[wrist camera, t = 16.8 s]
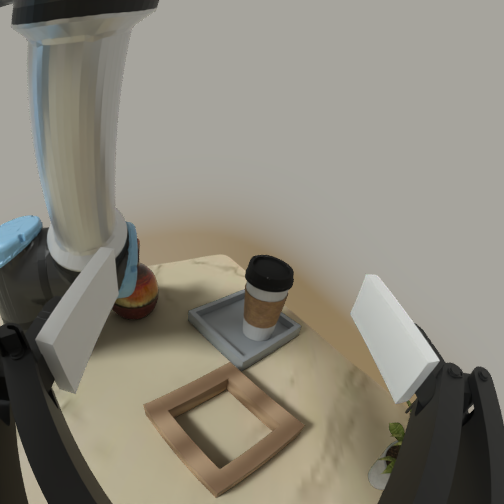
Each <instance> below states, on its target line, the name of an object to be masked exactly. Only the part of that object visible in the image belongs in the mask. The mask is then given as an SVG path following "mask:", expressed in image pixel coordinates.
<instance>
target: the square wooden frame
mask: <svg viewBox="0 0 504 504" xmlns="http://www.w3.org/2000/svg"><path fill="white" fill-rule="evenodd" d="M226 389H227V390H228V391H229V392H230V393H231V394H232V395H233V396H234V397H235V398H236V399H237V400H239V401H240V402H241V403H242V404H243V405H244V406H245V407H246V408H247V409H248V410H249V411H250V412H252V413H253V414H254V415H255V416H256V417H257V418H258V419H259V420H260V421H262V422H263V423H264V424H265V425H266V426H267V427H269V428H270V429H271V430H272V432H271V433H270V434H269V435H267V436H266V437H265V438H263V439H262V440H261V441H259V442H258V443H257V444H255V445H254V446H253V447H251V448H250V449H249V450H247V451H246V452H244V453H243V454H242V455H240V456H239V457H237V458H236V459H234V460H233V461H231V462H230V463H228V464H227V465H225V466H224V467H222V468H221V469H219V468H218V467H217V466H216V465H215V464H214V463H213V462H212V461H211V460H210V459H209V458H208V457H207V456H206V455H205V454H204V453H203V452H202V451H201V449H200V448H199V447H198V446H197V445H196V444H195V443H194V442H193V441H192V439H191V438H190V437H189V436H188V435H187V434H186V432H185V431H184V430H183V429H182V428H181V427H180V425H179V424H178V423H177V422H176V420H175V419H174V418H175V417H177V416H179V415H181V414H183V413H184V412H186V411H188V410H190V409H192V408H194V407H196V406H198V405H199V404H201V403H203V402H205V401H207V400H208V399H210V398H212V397H214V396H216V395H217V394H219V393H221V392H222V391H224V390H226ZM143 406H144V409H145V413H146V415H147V417H148V418H149V420H150V421H151V423H152V424H153V425H154V427H155V428H156V429H157V431H158V432H159V433H160V435H161V436H162V437H163V439H164V440H165V441H166V442H167V444H168V445H169V446H170V447H171V449H172V450H173V451H174V452H175V454H176V455H177V456H178V457H179V458H180V460H181V461H182V462H183V463H184V464H185V465H186V467H187V468H188V469H189V470H190V471H191V472H192V473H193V474H194V475H195V477H196V478H197V479H198V480H199V481H200V482H201V483H202V484H203V485H204V486H205V487H206V488H207V489H208V490H209V491H210V492H211V493H212V494H213V495H214V496H215V497H216V498H217V497H218V496H220V495H221V494H223V493H224V492H226V491H227V490H229V489H230V488H232V487H233V486H235V485H236V484H238V483H239V482H240V481H242V480H243V479H245V478H246V477H247V476H249V475H250V474H251V473H253V472H254V471H255V470H257V469H258V468H259V467H261V466H262V465H263V464H264V463H266V462H267V461H268V460H270V459H271V458H272V457H273V456H274V455H276V454H277V453H278V452H279V451H280V450H282V449H283V448H284V447H285V446H286V445H288V444H289V443H290V442H291V441H292V440H293V439H294V438H295V437H297V436H298V435H299V434H300V432H301V431H302V429H303V428H304V426H305V425H304V424H302V423H301V422H300V421H299V420H297V419H296V418H295V417H294V416H292V415H291V414H290V413H289V412H287V411H286V410H285V409H284V408H282V407H281V406H280V405H279V404H278V403H276V402H275V401H274V400H273V399H272V398H270V397H269V396H268V395H267V394H266V393H264V392H263V391H262V390H261V389H260V388H259V387H258V386H256V385H255V384H254V383H253V382H252V381H251V380H250V379H248V378H247V377H246V376H245V375H244V374H243V373H242V372H241V371H240V370H238V369H237V368H236V367H235V366H234V365H233V364H232V363H231V362H229V363H227V364H225V365H223V366H222V367H220V368H218V369H216V370H214V371H212V372H210V373H208V374H206V375H204V376H203V377H201V378H199V379H197V380H195V381H193V382H191V383H189V384H187V385H185V386H183V387H181V388H179V389H177V390H174V391H172V392H170V393H168V394H166V395H164V396H162V397H160V398H157V399H155V400H153V401H151V402H149V403H146V404H144V405H143Z"/></svg>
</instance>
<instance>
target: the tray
mask: <svg viewBox="0 0 504 504" xmlns="http://www.w3.org/2000/svg"><path fill="white" fill-rule="evenodd" d="M244 299H245V289H244V290H241V291H239V292H236V293H234V294H231V295H228V296H226V297H223V298H221V299H218V300H216V301H213V302H210V303H208V304H205V305H203V306H200V307H197V308H195V309H192V310H189V311H188V321H189V322H190V323H191V324H192V325H193V326H194V327H195V328H196V329H197V330H198V331H199V332H200V333H201V334H202V335H203V336H204V337H205V338H206V339H207V340H208V341H209V342H210V343H211V344H212V345H213V346H214V347H215V348H216V349H217V350H219V351H220V352H221V353H222V354H223V355H224V356H225V357H226V358H227V359H228V360H229V361H230V362H231V363H232V364H233V365H234V366H236V367H237V368H238V369H239V370H240V371H243V370H244V369H246V368H248V367H249V366H251V365H252V364H254V363H256V362H257V361H259V360H261V359H262V358H264V357H265V356H267V355H269V354H270V353H272V352H273V351H275V350H276V349H278V348H279V347H281V346H283V345H284V344H286V343H287V342H289V341H290V340H292V339H293V338H295V337H296V336H298V334H299V332H300V329H301V325H299V324H298V323H296V322H295V321H293V320H292V319H290V318H289V317H288V316H286V315H285V314H283V313H282V312H281V314H280V316H279V318H278V321H277V323H276V325H275V328H274V331H273V333H272V336H271V337H270V338H269V339H268V340H265V341H254V340H251V339H249V338H248V337H246V336H245V334H244V333H243V318H244Z"/></svg>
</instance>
